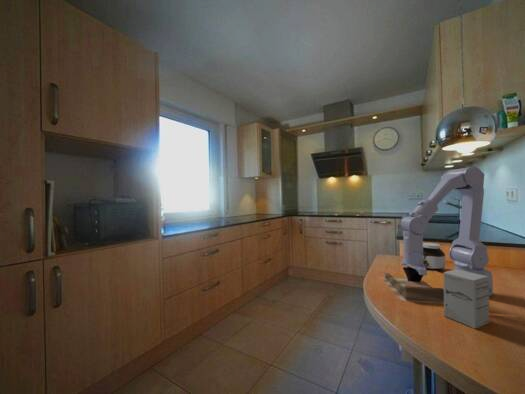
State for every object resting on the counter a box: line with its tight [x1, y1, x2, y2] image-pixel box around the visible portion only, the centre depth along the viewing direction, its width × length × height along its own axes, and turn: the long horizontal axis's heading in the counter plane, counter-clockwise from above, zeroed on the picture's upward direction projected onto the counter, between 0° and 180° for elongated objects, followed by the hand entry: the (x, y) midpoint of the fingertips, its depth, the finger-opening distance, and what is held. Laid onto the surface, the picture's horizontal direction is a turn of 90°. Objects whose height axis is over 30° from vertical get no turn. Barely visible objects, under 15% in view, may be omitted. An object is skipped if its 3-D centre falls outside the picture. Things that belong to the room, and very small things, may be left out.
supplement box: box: [443, 268, 490, 330], centre depth 63 cm, size 7×7×13 cm
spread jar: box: [423, 242, 447, 272], centre depth 108 cm, size 12×11×12 cm
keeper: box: [405, 281, 433, 288], centre depth 77 cm, size 5×6×4 cm
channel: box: [381, 272, 444, 305], centre depth 83 cm, size 22×14×5 cm, turn 168°
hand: (413, 289), depth 81 cm, fingers closed
